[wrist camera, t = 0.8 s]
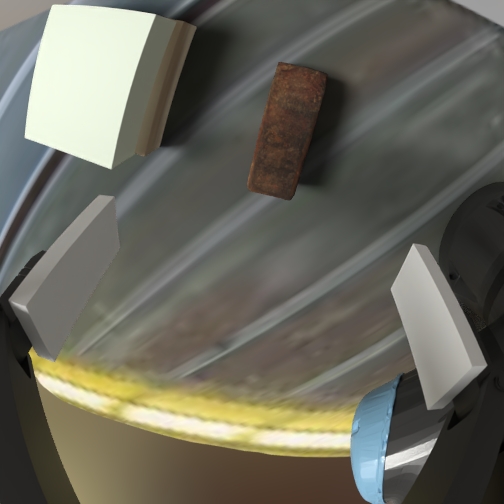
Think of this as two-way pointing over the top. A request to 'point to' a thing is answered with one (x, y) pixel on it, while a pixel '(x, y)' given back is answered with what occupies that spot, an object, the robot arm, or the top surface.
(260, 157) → the brick
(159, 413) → the top surface
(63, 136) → the top block
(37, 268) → the robot arm
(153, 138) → the base block
